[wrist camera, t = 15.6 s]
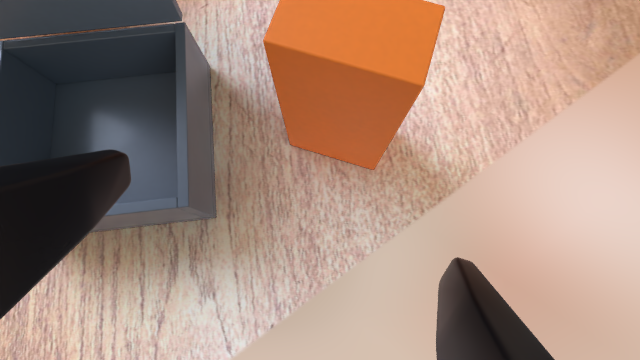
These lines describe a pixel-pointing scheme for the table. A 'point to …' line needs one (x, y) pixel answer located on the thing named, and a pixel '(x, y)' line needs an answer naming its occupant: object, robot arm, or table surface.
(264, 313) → the table surface
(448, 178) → the table surface
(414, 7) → the plate
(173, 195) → the blue gray box
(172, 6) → the lid
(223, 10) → the table surface
